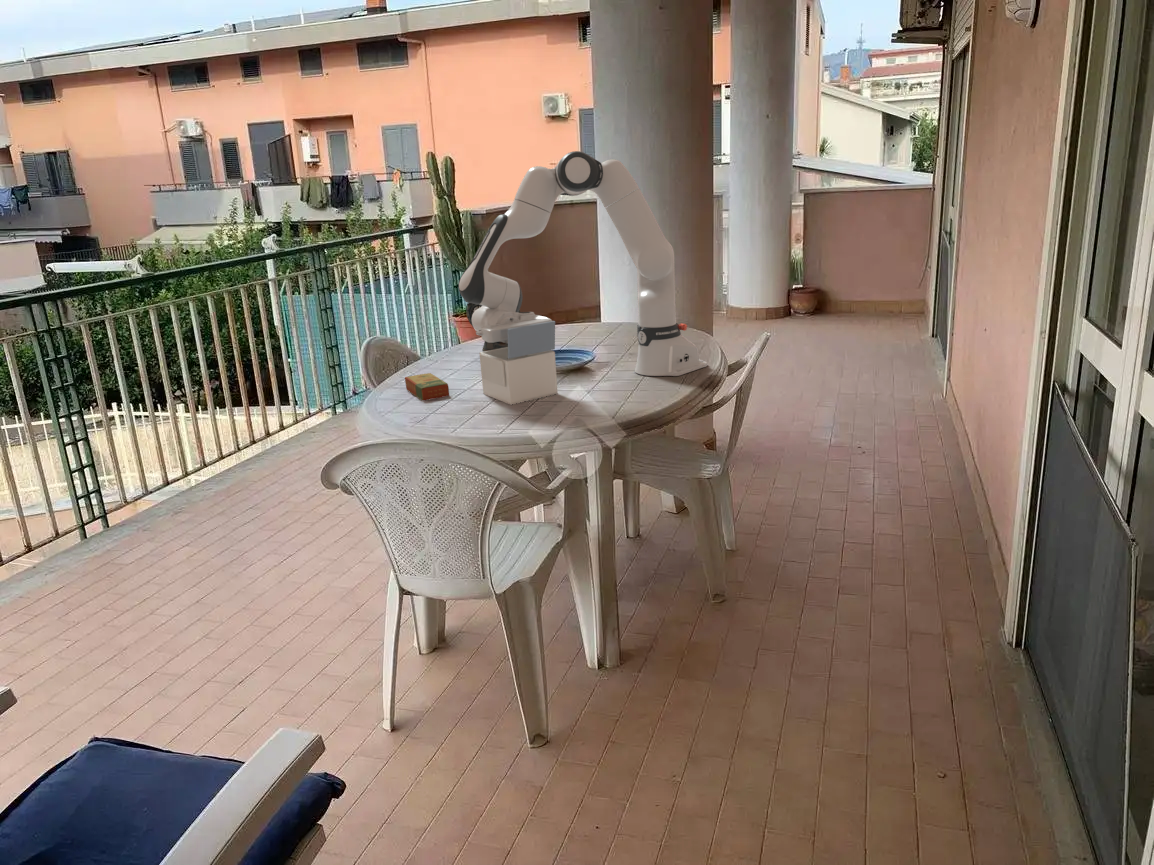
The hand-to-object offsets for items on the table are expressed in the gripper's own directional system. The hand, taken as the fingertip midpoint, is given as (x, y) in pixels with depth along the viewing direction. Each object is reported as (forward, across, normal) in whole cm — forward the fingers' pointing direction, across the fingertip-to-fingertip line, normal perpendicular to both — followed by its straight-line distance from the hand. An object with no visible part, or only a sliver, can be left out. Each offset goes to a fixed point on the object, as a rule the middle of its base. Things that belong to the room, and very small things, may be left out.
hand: (531, 333), depth 220 cm
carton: (-30, -19, +19) cm, 41 cm away
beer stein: (-54, +19, +19) cm, 60 cm away
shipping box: (-9, 0, +18) cm, 21 cm away
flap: (0, 0, +2) cm, 2 cm away
